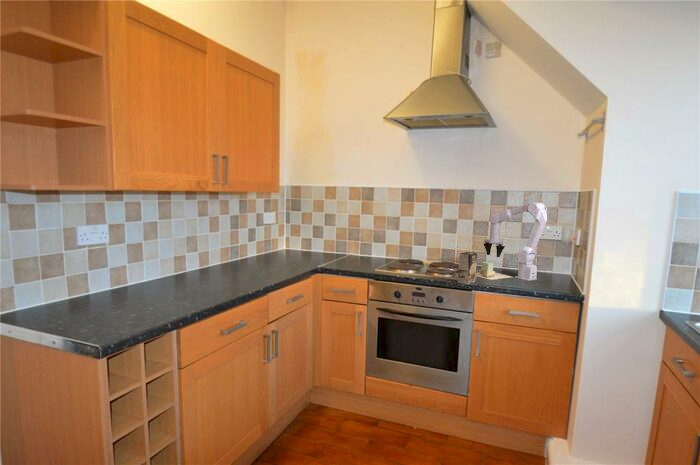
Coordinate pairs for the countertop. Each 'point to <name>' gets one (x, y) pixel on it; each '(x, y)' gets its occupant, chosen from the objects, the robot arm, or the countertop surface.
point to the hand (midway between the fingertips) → (493, 256)
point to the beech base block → (486, 273)
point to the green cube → (487, 266)
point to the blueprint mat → (495, 276)
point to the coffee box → (467, 267)
